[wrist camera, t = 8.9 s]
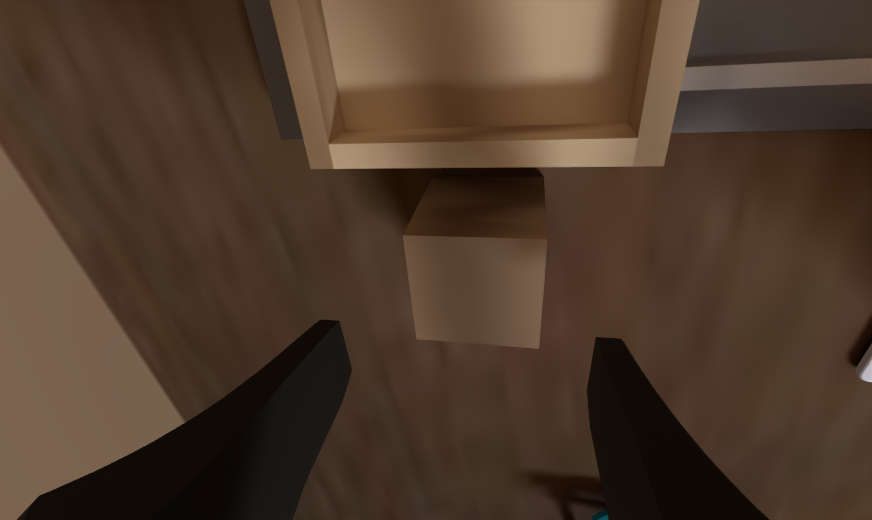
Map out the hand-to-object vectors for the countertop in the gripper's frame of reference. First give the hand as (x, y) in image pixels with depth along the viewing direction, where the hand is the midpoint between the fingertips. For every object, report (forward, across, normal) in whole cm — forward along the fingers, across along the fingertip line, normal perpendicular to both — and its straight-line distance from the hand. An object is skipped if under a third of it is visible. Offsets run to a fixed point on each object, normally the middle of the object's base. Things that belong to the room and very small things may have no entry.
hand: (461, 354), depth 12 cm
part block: (+8, 0, 0) cm, 8 cm away
